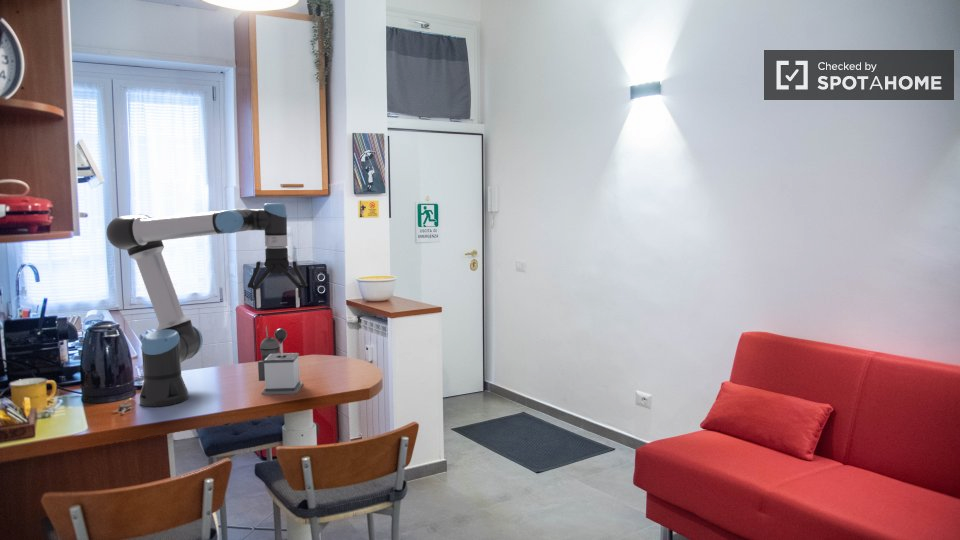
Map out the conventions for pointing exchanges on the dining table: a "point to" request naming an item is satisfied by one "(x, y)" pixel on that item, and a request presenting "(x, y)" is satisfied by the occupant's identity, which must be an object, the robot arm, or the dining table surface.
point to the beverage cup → (269, 346)
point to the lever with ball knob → (280, 338)
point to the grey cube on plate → (280, 374)
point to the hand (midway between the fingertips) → (278, 307)
